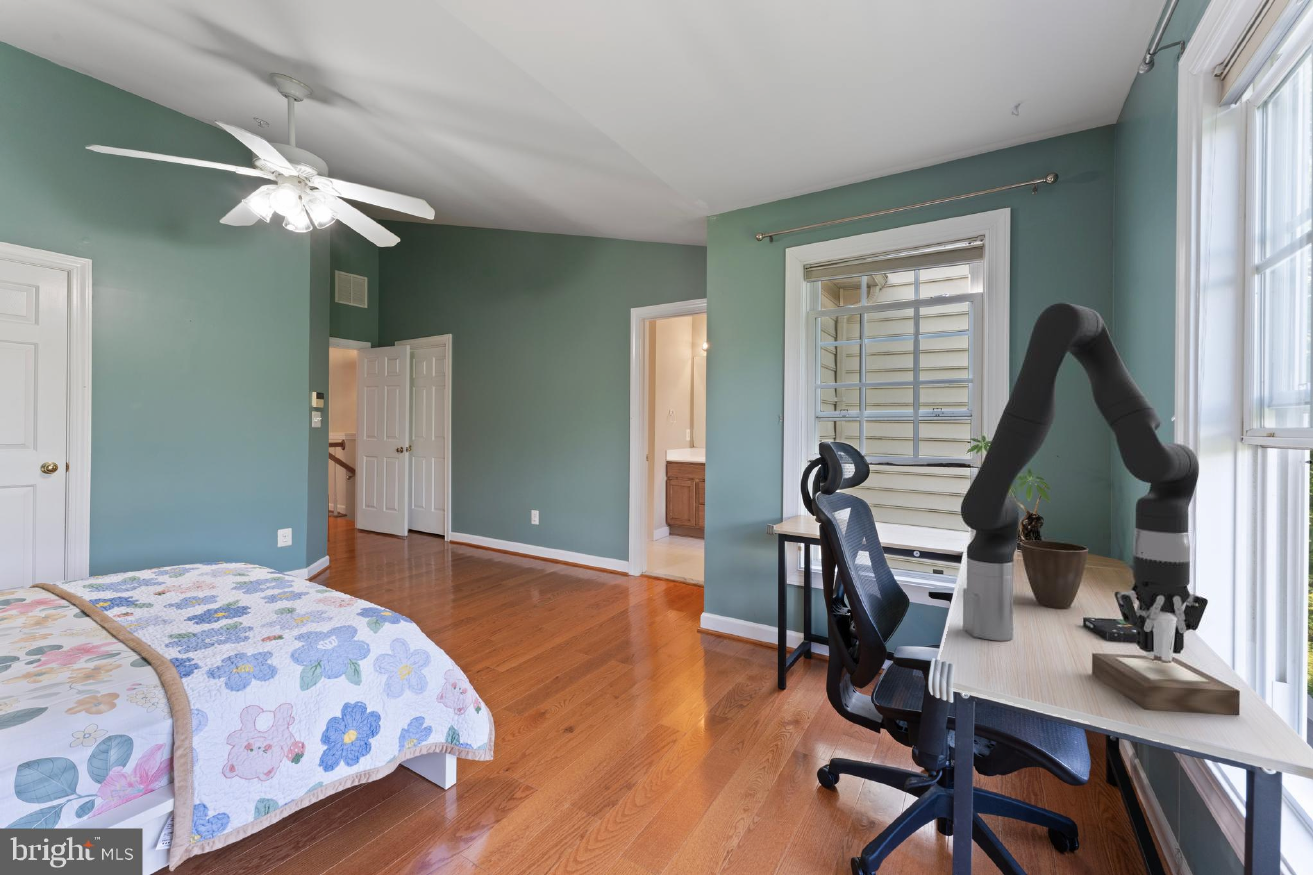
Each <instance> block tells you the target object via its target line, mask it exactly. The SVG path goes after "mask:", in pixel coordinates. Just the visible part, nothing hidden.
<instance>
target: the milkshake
mask: <svg viewBox="0 0 1313 875" xmlns="http://www.w3.org/2000/svg"><path fill="white" fill-rule="evenodd" d="M1145 612H1147V613H1148V612H1149V611H1148V610H1145ZM1144 619H1145V617H1144ZM1177 620H1178V619H1177V617H1176V616H1175V615H1174V614H1173V613H1168V612H1161V611H1159V614H1158V618H1157V620H1154V623H1153V626H1152V629H1151V631H1150V632H1152V652H1145V653H1146V654H1145V656H1147V658H1148V660H1151V661H1153V662H1157V663H1161V664H1170V663H1171V662H1172V657H1173V654H1174V653H1173V647H1174V640H1175V632H1176V627H1177Z"/></svg>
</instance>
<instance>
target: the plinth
mask: <svg viewBox="0 0 1313 875" xmlns="http://www.w3.org/2000/svg"><path fill="white" fill-rule="evenodd" d="M1091 674H1092V675H1093V676H1095V678H1097V679H1098V680H1100V681H1102V682H1104V683H1105V684H1106V685H1108V686H1109V687H1111V688H1112V689H1114V690H1115V691H1117V692H1118V693H1120V694H1122V696H1125V697H1126V698H1127V699H1129V700H1130V701H1132V703H1133V702H1134V704H1137V705H1138V706H1140V707H1141V708H1142V709H1144V710H1145V711H1146V710H1147V711H1164V712H1165V711H1166V712H1183V713H1184V712H1185V713H1198V714H1199V713H1200V714H1213V715H1214V714H1215V715H1217V714H1219V715H1234V716H1240V708H1241V707H1240V704H1241V703H1240V698H1241V696H1240V695H1241V691H1240V690H1239V689H1237V688H1235V687H1233V686H1231V685H1229V684H1227V683H1226V682H1224V681H1221V680H1219V679H1217V678H1216V677H1214V676H1212V675H1209V674H1208V673H1206V672H1204V671H1202V670H1200V669H1199V668H1196V667H1194V666H1192V665H1190V664H1188V663H1186V662H1185V661H1182V660H1180V659H1178V658H1176V657H1174V656H1172V662H1171V663H1170V664H1161V663H1157V662H1153V661H1151V660H1148V658H1147V655H1144V654H1143V655H1140V654H1139V655H1138V654H1122V653H1121V654H1120V653H1117V654H1116V653H1100V652H1099V653H1098V652H1095V653H1094V652H1092V653H1091Z"/></svg>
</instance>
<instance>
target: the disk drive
mask: <svg viewBox="0 0 1313 875" xmlns="http://www.w3.org/2000/svg"><path fill="white" fill-rule="evenodd" d="M1082 627H1083V628H1085V629H1088V630H1089V631H1090V632H1092V633H1094V634H1095V635H1097V636H1099V637H1100V638H1102V639H1103V640H1105V641H1106V642H1113V643H1129V644H1130V643H1131V644H1132V643H1133V644H1136V628H1135V627H1134V626H1131V625H1129V624H1127V623H1125V622H1124V620H1123V618H1121V619H1119V618H1105V617H1104V618H1102V617H1082ZM1183 645H1184V644H1183ZM1184 646H1185V645H1184Z"/></svg>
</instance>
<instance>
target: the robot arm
mask: <svg viewBox="0 0 1313 875" xmlns="http://www.w3.org/2000/svg"><path fill="white" fill-rule="evenodd" d="M1067 353H1069V354H1071V355H1072V356H1073V357H1074V358H1075V359H1076V360H1077V361H1078V363H1079V364H1080V365H1081V366H1082V367H1083V369H1084V370H1085V372H1086V375H1087V377H1088V379H1089V382H1090V388H1091V392H1092V398H1093V400H1094V404H1095V405H1096V407H1097V409H1098V411H1099V412H1100V414H1101V416H1102V417H1103V418H1104V420H1105V422H1106V423H1107V425H1108V427H1110V429H1111V431H1112V432H1113V434H1114V436H1115V440H1116V445H1117V447H1118V450H1119V454H1120V457H1121V460H1122V462H1123V464H1124V466H1125V468H1126V470H1127V471H1128V472H1129V473H1130V474H1131V475H1132V476H1133V477H1134V478H1135V479H1137V480H1139V481H1140V482H1144V483H1147V484H1150V485H1149V489H1148V492H1147V493H1146V494H1145V495H1143V496H1141V497H1140V498H1138V499H1137V501H1136V504H1135V524H1134V525H1135V526H1134V527H1135V528H1134V535H1133V539H1132V540H1133V542H1132V546H1133V547H1132V550H1133V551H1132V554H1133V555H1132V577H1133V580H1134V584H1133V585H1132V587H1131V590H1128V591H1124V592H1122V591H1118V590H1117V591H1115V593H1114V597H1115V600H1116V603H1117V606H1118V609H1119V611H1120V614H1121V618H1122V619H1123V620H1124V622H1125V623H1127V624H1129V625H1131V626H1134V627H1135V628H1136V643H1135V644H1136V646H1137V647H1138V648H1139V650H1142V651H1143V652H1145V653H1146V652H1152V632H1150V631H1151V629H1152V626H1153V623H1154V620H1157V618H1158V614H1159V611H1161V612H1168V613H1173V614H1174V615H1175V616H1176V617H1177V619H1178V620H1177V627H1176V632H1175V640H1174V647H1173V654H1175V655H1176V654H1177V655H1180V654H1181V653H1182V651H1183V650H1184V646H1185V645H1183V644H1184V643H1185V641H1184V640H1185V635H1184V634H1185V633H1186V632H1187V631H1190V630H1191V631H1196V630H1198V628H1199V626H1200V623H1201V621H1202V618H1203V616H1204V613H1205V612H1206V608H1207V605H1208V603H1209V601H1208V599H1207V598H1205V597H1203V596H1200V595H1197V594H1194V593H1193V594H1192V593H1191V592H1190V590H1189V588H1188V586H1189V584H1190V582H1191V581H1190V580H1191V579H1190V578H1191V577H1190V574H1191V545H1190V544H1191V543H1190V538H1189V507H1190V505H1191V502H1192V499H1193V496H1194V492H1195V489H1196V486H1197V483H1198V479H1199V476H1200V475H1199V474H1200V464H1199V459H1198V458H1197V454H1196V453H1195V451H1193V449H1191V448H1190V447H1189V446H1187V445H1185V444H1181V443H1178V442H1175V443H1174V442H1171V443H1170V442H1169V443H1167V442H1166V443H1163V442H1161V440H1160V438H1159V436H1158V435H1157V432H1156V431H1157V430H1158V429H1159V428H1160V426H1161V424H1162V422H1161V418H1160V416H1159V414H1158V413H1157V411H1156V410H1155V409H1154V407H1153V406H1152V404H1151V403H1150V402H1149V400H1148V399H1147V398H1146V396H1145V395H1144V393H1143V392H1142V390H1141V389H1140V388H1139V387H1138V385H1137V384H1136V382H1135V381H1134V379H1133V377H1132V376H1131V375H1130V373H1129V371H1128V370H1127V368H1126V366H1125V364H1124V363H1123V360H1122V358H1121V357H1120V355H1119V353H1118V350H1117V349H1116V346H1115V345H1114V343H1113V340H1112V338H1111V335H1110V333H1109V331H1108V328H1107V326H1106V323H1105V321H1104V320H1103V318H1102V316H1101V315H1100V313H1098V312H1097V311H1096V310H1094V309H1092V308H1089V307H1087V306H1082V305H1077V304H1074V303H1069V302H1056V303H1053V304H1051V305H1048V306H1047V307H1046V308H1045V309H1043V311H1042V312H1041V314H1039V316H1038V317H1037V319H1036V322H1035V323H1034V326H1033V329H1032V332H1031V335H1030V339H1029V342H1028V346H1027V349H1026V352H1025V356H1024V359H1023V363H1022V365H1021V368H1020V371H1019V374H1018V376H1017V378H1016V379H1015V380H1016V381H1015V383H1014V386H1013V388H1012V391H1011V394H1010V396H1009V399H1008V400H1007V403H1006V405H1005V407H1004V409H1003V411H1002V414H1001V417H1000V419H999V420H998V423H997V426H996V428H995V431H994V435H993V437H992V439H991V442H990V443H989V446H988V449H987V451H986V454H985V455H984V458H983V462H982V464H981V466H980V467H979V469H978V472H977V473H976V475H975V476H974V479H973V480H972V482H971V484H970V486H969V488H968V489H967V491H966V493H965V494H964V497H963V499H962V502H961V505H960V515H961V519H962V520H963V522H964V524H965V525H966V526H967V527H968V528H970V529H971V530H974V531H975V533H974V534H975V535H974V536H973V539H972V540H971V541H970V542H969V543H968V545H967V546H966V587H963V590H962V629H964V631H966V632H967V633H968V634H970V636H971V637H972V638H979V639H984V640H991V641H999V642H1001V641H1010V640H1012V639H1013V638H1014V555H1015V552H1016V550H1017V548H1018V544H1019V543H1018V542H1019V527H1020V526H1019V525H1020V524H1019V523H1020V520H1019V519H1020V513H1019V506H1018V502H1017V501H1016V499H1015V498H1014V496H1013V495H1012V493H1009V492H1010V491H1011V490H1010V489H1011V488H1012V485H1013V483H1014V482H1015V480H1016V478H1017V476H1018V475H1019V474H1020V473H1021V471H1023V469H1024V468H1025V467H1026V466H1028V464H1029V463H1030V461H1031V460H1032V459H1033V458H1034V457H1035V455H1036V454H1037V453H1038V452H1039V450H1040V449H1041V447H1042V446H1043V444H1044V442H1045V441H1046V438H1047V437H1048V434H1049V431H1050V429H1051V427H1052V424H1053V423H1054V420H1055V417H1056V413H1057V391H1056V390H1057V389H1056V386H1057V385H1056V384H1057V383H1056V382H1057V377H1058V373H1059V371H1060V367H1061V366H1062V363H1063V361H1064V358H1065V356H1066V354H1067ZM1135 600H1137V601H1138V603H1137V607H1135V604H1136V601H1135ZM1184 604H1185V607H1184V608H1183V606H1184ZM1145 610H1148V611H1149V612H1148V613H1147V612H1145ZM1144 617H1145V619H1144Z"/></svg>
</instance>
